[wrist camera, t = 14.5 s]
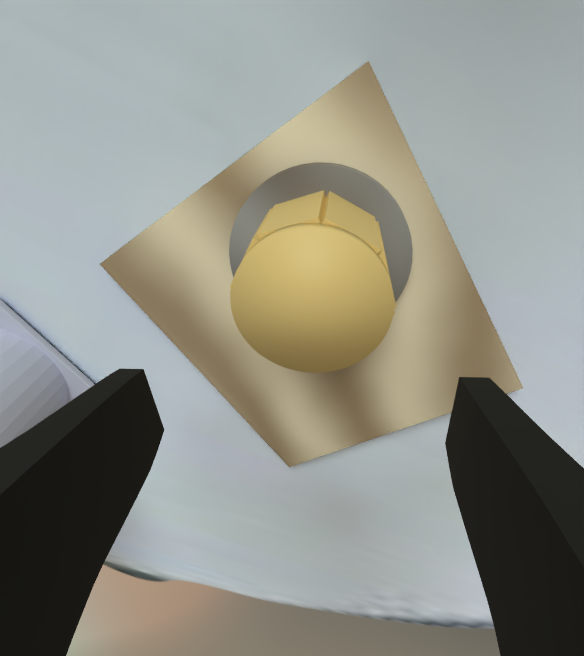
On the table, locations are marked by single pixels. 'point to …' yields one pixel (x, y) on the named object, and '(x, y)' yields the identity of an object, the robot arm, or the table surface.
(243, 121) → the table surface
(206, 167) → the table surface
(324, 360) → the cap
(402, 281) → the stud plate
